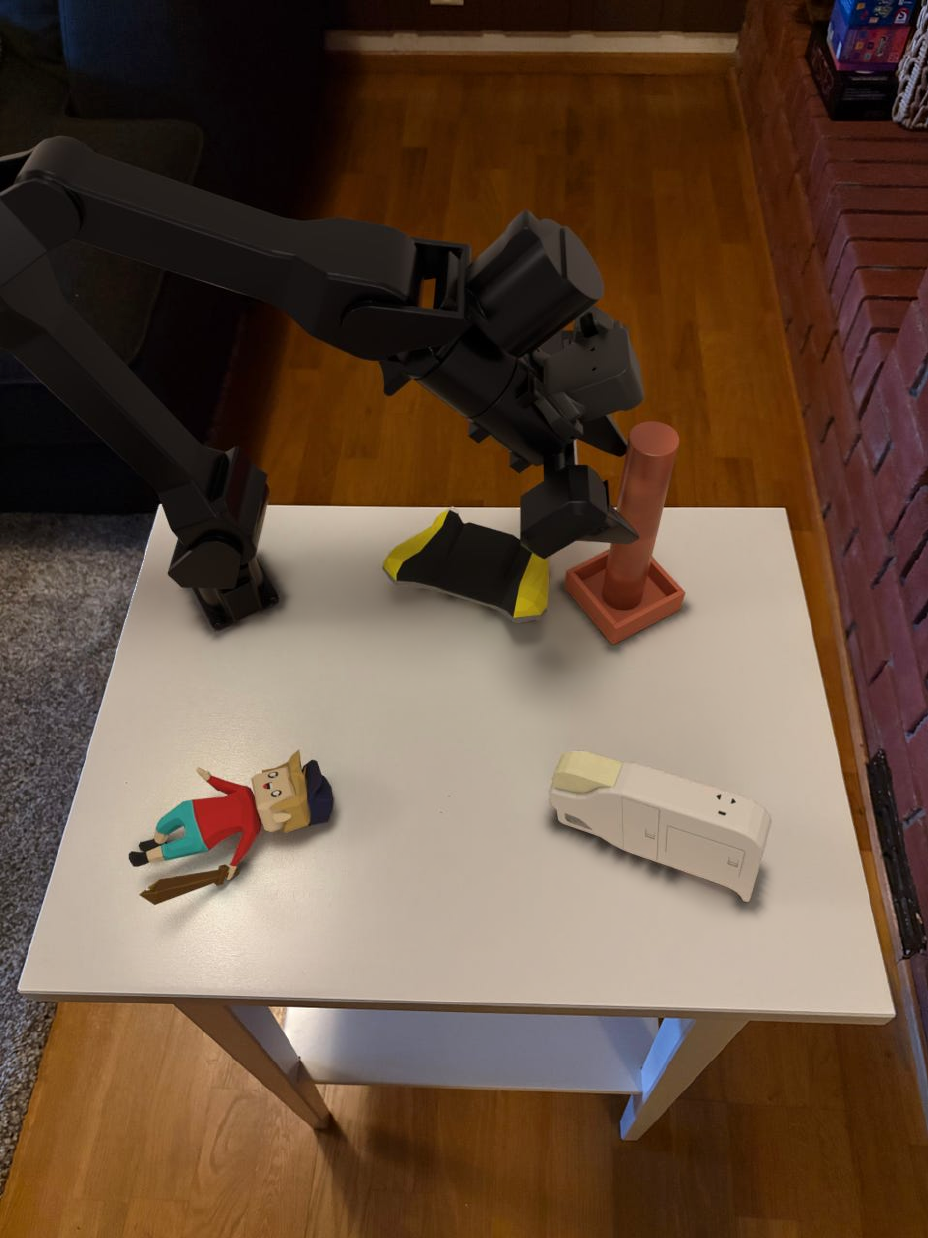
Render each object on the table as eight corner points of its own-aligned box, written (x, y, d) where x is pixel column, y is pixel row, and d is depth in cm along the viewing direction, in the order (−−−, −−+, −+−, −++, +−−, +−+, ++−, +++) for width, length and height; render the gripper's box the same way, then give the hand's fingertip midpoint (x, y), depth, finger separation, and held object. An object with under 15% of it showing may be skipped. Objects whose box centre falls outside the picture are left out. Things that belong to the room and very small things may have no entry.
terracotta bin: (564, 586, 80) (566, 570, 78) (630, 553, 82) (634, 536, 80) (612, 645, 76) (615, 629, 74) (680, 608, 78) (685, 592, 76)
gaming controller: (534, 652, 76) (571, 568, 81) (537, 616, 71) (575, 529, 76) (379, 602, 79) (423, 524, 84) (372, 564, 75) (420, 485, 80)
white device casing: (566, 805, 70) (757, 869, 64) (554, 836, 68) (748, 905, 63) (556, 734, 61) (776, 802, 56) (542, 768, 60) (766, 841, 54)
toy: (110, 786, 63) (311, 722, 66) (138, 826, 68) (324, 765, 71) (125, 903, 57) (345, 827, 60) (154, 938, 62) (356, 866, 65)
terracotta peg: (601, 609, 77) (629, 454, 62) (601, 577, 80) (628, 419, 64) (642, 611, 77) (680, 456, 62) (641, 579, 79) (678, 421, 64)
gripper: (585, 411, 49) (738, 539, 57) (572, 225, 60) (703, 357, 68) (451, 505, 56) (605, 607, 64) (461, 323, 66) (592, 432, 75)
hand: (629, 494), depth 68 cm, fingers open, 9 cm apart
